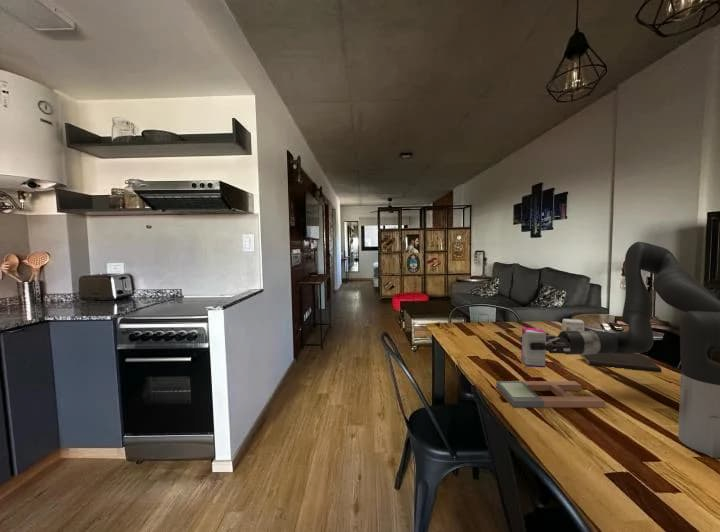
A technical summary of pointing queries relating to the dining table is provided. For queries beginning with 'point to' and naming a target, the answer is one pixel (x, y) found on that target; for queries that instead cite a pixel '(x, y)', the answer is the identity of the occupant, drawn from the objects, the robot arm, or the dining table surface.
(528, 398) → the board
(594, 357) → the hardcover book
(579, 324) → the ink box
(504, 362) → the dining table surface
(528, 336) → the supplement box
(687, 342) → the robot arm
